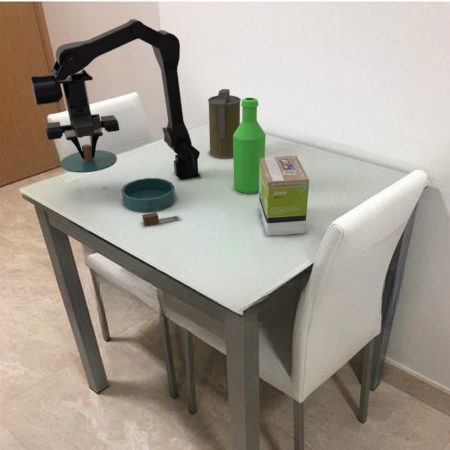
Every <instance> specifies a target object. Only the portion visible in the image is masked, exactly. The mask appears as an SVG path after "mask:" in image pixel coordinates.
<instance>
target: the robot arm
mask: <svg viewBox="0 0 450 450" xmlns="http://www.w3.org/2000/svg"><path fill="white" fill-rule="evenodd" d="M136 40H140V41H142V42H144V43H146V44H148V45H150V46H151V48H152V50H153V54H154V57H155V59H156V62H157V64H158V66H159V69H160V71H161V73H160V74H161V80H162V87H163V94H164V99H165V100H164V101H165V107H166V114H167V115H166V116H167V125H166V127H162V132H163V137H164V138H163V141H164V143H166V145H167V146H168V147H169V148H170V149H171V150H172V151H173V152H174V153H175V155H174V160H173V169H174V170H173V171H174V174H175V176H176V177H177V178H178V179H179V181H183V180H191V179H196V178H201V174H200V173H199V157H200V154H201V152H200V150H198V149H197V148H196V147H195V146H194V145H193V142H192V140H191V136H190V133H189V130H188V128H187V126H186V123H185V120H184V112H183V104H182V96H181V90H180V82H179V72H178V68H179V62H180V59H181V43H180V39H179V38H178V37H177V36H176V35H175V34H173V33H171V32H169V31H167V30H163V29H160V30H156V29H153V28H152V27H150V26H148V25H146V24H144V23H143V22H142V21H141V20H139V19H136V18H132V19H130V20H128V21H126V22H125V23H122V24H121V25H118V26H116V27H114V28H112V29H109V30H106V31H105V32H103V33H101V34H98V35H96V36H94V37H92V38H89V39H86V40H80V41H79V40H78V41H72V42H68V43H64V44H61V45H60V46H58V47H57V48H56V51H55V62H54V64H53V66H52V68H51V70H50V73H48V74H41V75H40V74H39V75H38V74H32V75H30V82H31V91H32V95H33V98H34V102H35V105H36V106H42V105H50V104H57V103H60V101H62V99H63V97H64V98H65V99H64V100H65V104H66V109H67V113H68V114H67V115H68V119H69V124H64V125H61V122H60V121H53V122H46V123H45V125H44V127H45V133H46V138H47V140H48V141H52V140H58V139H60V140H61V139H62V137H63V135H64V137H65V140H66V141H71V142H72V144H73V145H74V146H75V149H77V152H79V153H80V155H81V157H82V159H84V155H83V152H82V145H81V143H80V141H79V139H80V138H83V137H89V141H90V145H91V150H92V156H93V158H94V157H95V150H97V144H98V140H99V138H100V137H103V136H104V133H103V131H102V130H103V129H104V130H105V131H106V132H107V133H112V132H113V133H114V132H119V131H120V124H119V120H118V119H117V117H116V116H115V115H113V114H109V115H103V116H102V115H101V116H100V114H99V113H94V114H92V111H91V106H90V101H89V95H88V89H87V84H86V82H87V81H88V82H89V81H93V79H94V78H93V76H92V75H91V74H89V73H88V72H87V71H86V70H85V68H86V67H88V66H89V65H90V64H91V63H92V62H93V61H94V60H95V59H97V58H99V57H100V56H102V55H105V54H107V53H110V52H111V51H114V50H116V49H118V48H120V47H123V46H124V45H127V44H129V43H132V42H133V41H136ZM61 85H62V86H61ZM62 89H63V90H62ZM63 94H64V96H63Z"/></svg>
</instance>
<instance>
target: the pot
mask: <svg viewBox="0 0 450 450" xmlns="http://www.w3.org/2000/svg"><path fill="white" fill-rule="evenodd" d="M120 192H121V198H122V203H123V205H124V207H125V208H126V209H128V210H130V211H133V212H138V213H155V212H160V211H162V210H165V209H167V208H169V207H171V206H172V205H173V204H174V203H175V201H176V192H175V185H174V183H173V182H172V181H170V180H168V179H164V178H159V177H145V178H139V179H138V178H137V179H135V180H132V181H129V182H127V183H126V184H125V185H123V186H122V188H121V190H120Z"/></svg>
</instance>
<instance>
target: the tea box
mask: <svg viewBox="0 0 450 450" xmlns="http://www.w3.org/2000/svg"><path fill="white" fill-rule="evenodd" d="M309 189H310V177H308V175H307V173H306V171H305V169H304V167H303V165H302V164H301V162H300V160H299V158H298V156H297V155H284V156H283V155H282V156H271V157H268V156H267V157H265V158H259V191H258V210H259V213H260V217H261V220H262V224H263V228H264V229H265V234H266V236H267V237H272V236H273V237H274V236H286V235H298V234H305V233H306V228H307V227H306V226H307V214H308V202H309Z"/></svg>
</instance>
